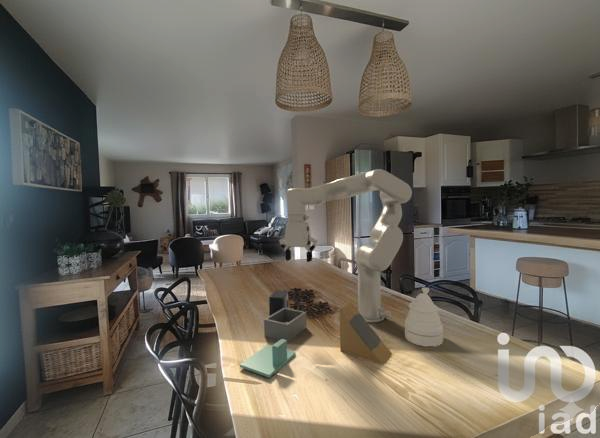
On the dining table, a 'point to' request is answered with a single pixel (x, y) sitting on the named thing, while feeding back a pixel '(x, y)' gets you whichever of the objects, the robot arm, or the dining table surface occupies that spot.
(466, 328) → the dining table surface
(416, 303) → the honey pot
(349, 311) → the sandwich container
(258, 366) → the lid
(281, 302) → the small box
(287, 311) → the tub
